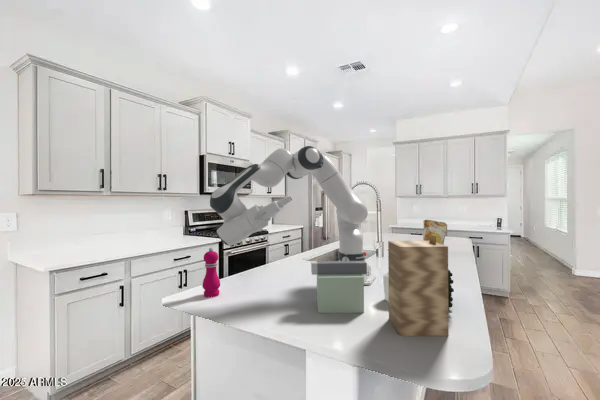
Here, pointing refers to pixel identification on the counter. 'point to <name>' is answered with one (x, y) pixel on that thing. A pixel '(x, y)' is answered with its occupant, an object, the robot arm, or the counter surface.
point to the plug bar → (338, 267)
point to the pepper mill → (211, 274)
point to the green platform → (340, 293)
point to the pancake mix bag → (435, 230)
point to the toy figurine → (450, 289)
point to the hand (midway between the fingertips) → (290, 198)
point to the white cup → (386, 286)
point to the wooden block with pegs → (418, 287)
